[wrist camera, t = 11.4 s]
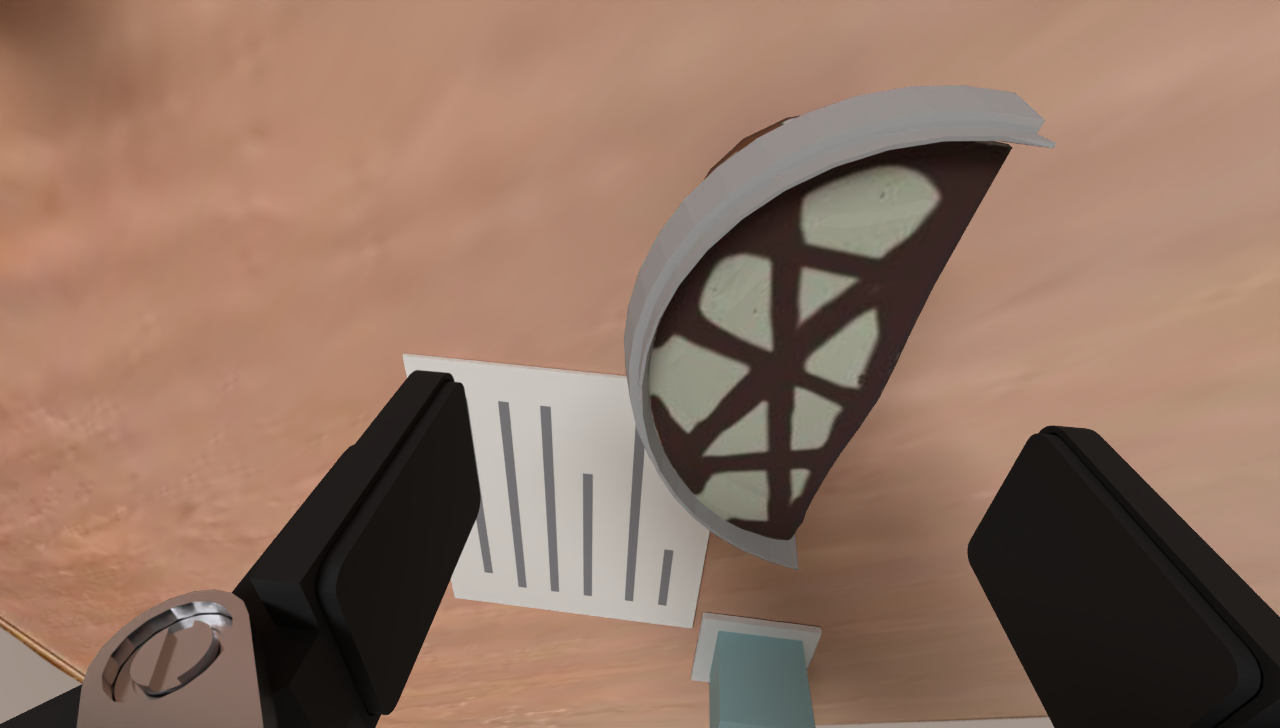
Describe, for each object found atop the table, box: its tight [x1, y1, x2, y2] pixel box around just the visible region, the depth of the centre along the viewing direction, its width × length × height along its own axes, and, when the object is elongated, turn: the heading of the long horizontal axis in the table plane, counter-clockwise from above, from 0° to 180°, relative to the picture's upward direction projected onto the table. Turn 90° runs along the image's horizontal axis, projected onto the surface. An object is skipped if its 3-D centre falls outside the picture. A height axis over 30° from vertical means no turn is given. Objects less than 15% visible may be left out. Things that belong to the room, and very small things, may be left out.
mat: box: [691, 612, 822, 682], centre depth 34 cm, size 7×7×1 cm
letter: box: [403, 353, 710, 628], centre depth 29 cm, size 15×18×1 cm
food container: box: [624, 85, 1056, 570], centre depth 16 cm, size 12×6×10 cm, turn 168°
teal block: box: [709, 631, 815, 728], centre depth 32 cm, size 5×5×5 cm
